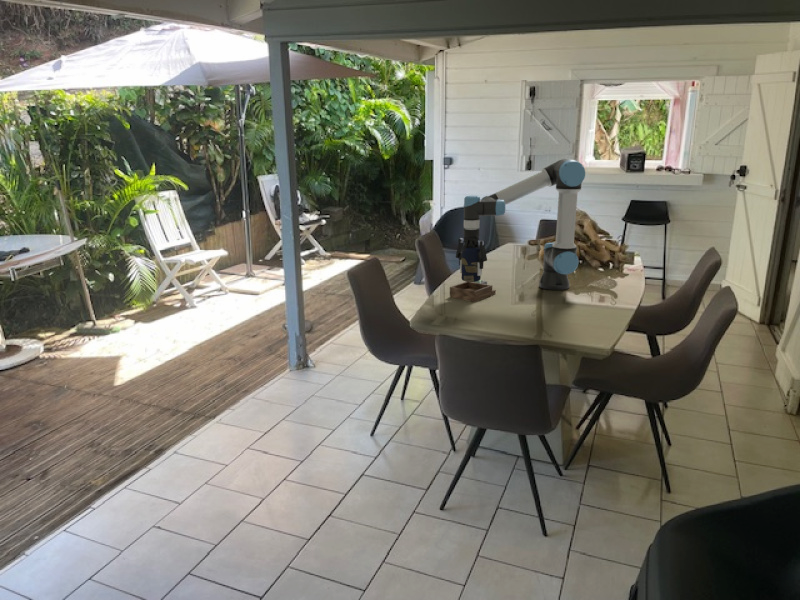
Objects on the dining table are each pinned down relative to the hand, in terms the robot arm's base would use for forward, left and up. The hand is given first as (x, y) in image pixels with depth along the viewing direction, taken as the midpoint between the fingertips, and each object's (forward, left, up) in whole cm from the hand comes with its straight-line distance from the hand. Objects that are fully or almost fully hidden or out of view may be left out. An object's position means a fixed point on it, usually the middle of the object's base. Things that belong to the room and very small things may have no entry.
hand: (471, 273), depth 299 cm
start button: (+6, -15, -10) cm, 19 cm away
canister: (0, 0, -4) cm, 4 cm away
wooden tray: (0, -2, -11) cm, 11 cm away
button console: (+6, -15, -11) cm, 19 cm away
